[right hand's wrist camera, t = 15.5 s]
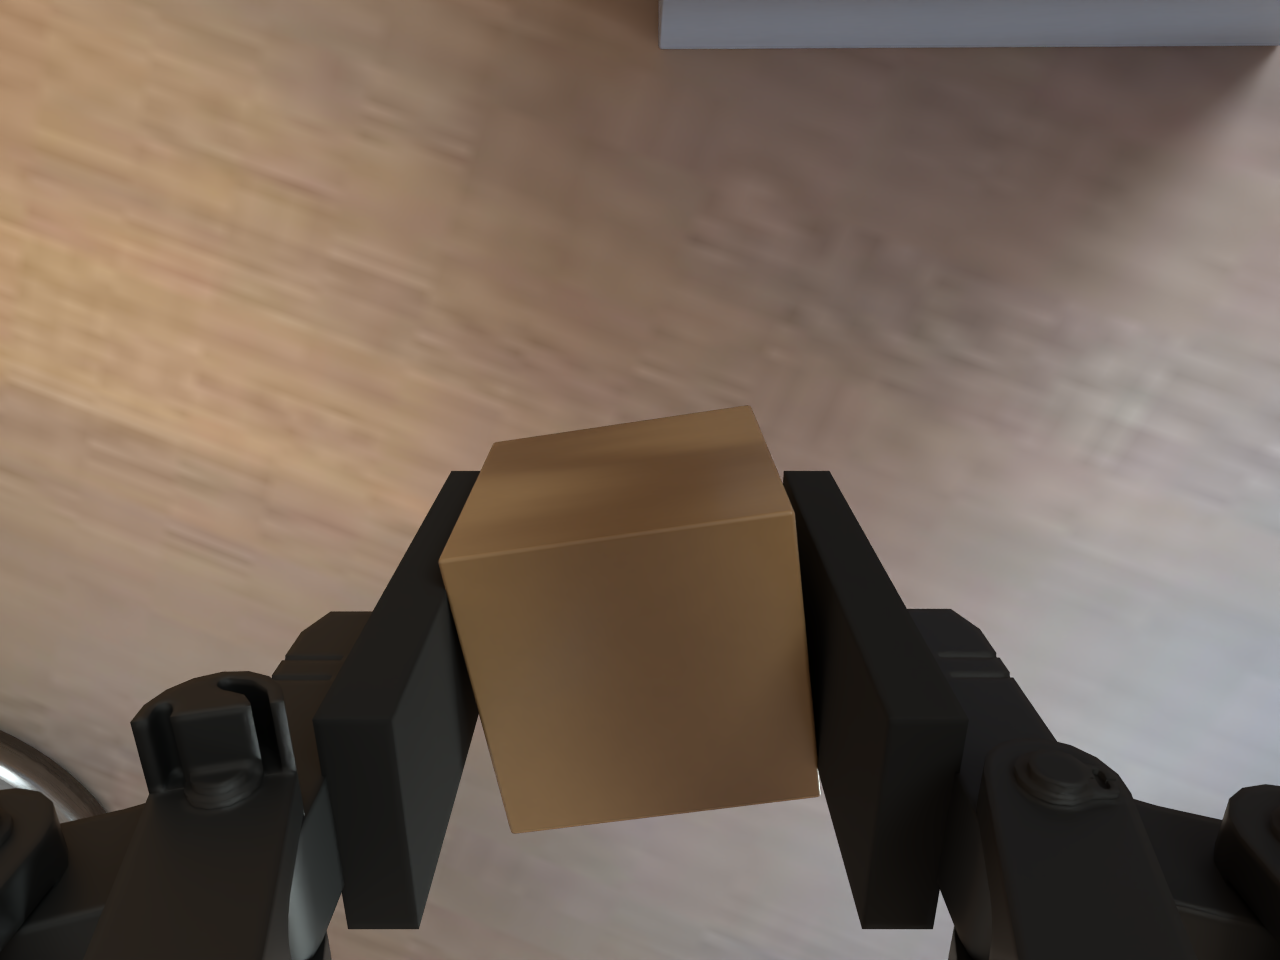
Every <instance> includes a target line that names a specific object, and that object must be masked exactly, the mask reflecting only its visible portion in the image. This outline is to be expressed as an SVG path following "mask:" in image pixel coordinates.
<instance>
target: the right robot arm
mask: <svg viewBox="0 0 1280 960" xmlns="http://www.w3.org/2000/svg"><path fill="white" fill-rule="evenodd" d="M479 473H480V471H451V473H450V475H449V477H448V478H447V480H446V482H445V484H444V486H443V487H442V489H441V491H440V493H439V494H438V496H437V498H436V500H435V502H434V503H433V505H432V507H431V509H430V510H429V512H428V514H427V516H426V518H425V519H424V521H423V523H422V525H421V526H420V528H419V530H418V532H417V534H416V535H415V537H414V539H413V541H412V543H411V544H410V546H409V548H408V550H407V551H406V553H405V555H404V557H403V559H402V560H401V562H400V564H399V566H398V567H397V569H396V571H395V573H394V575H393V576H392V578H391V580H390V582H389V583H388V585H387V587H386V589H385V591H384V592H383V594H382V596H381V598H380V599H379V601H378V603H377V605H376V607H375V608H374V610H373V612H329V613H328V614H327V615H325V616H324V617H322V618H321V619H319V620H318V621H317V622H315V623H314V624H312V625H311V626H309V627H308V628H307V629H305V630H304V631H302V632H301V634H300V635H299V636H298V638H297V639H296V641H295V642H294V644H293V645H292V647H291V648H290V650H289V651H288V653H287V654H286V656H285V660H282V661H281V663H280V664H279V666H278V667H277V669H276V670H275V672H274V673H273V675H272V678H271V677H269V676H266V675H262V674H258V673H254V672H250V671H238V672H220V673H215V674H211V675H206V676H202V677H197V678H193V679H191V680H189V681H186V682H184V683H181V684H179V685H177V686H174V687H172V688H170V689H167V690H165V691H164V692H163V693H161V694H160V695H158V696H157V697H155V698H154V699H152V700H151V701H149V702H148V703H146V704H145V705H144V706H143V707H142V708H141V710H140V711H139V712H138V713H137V715H136V716H135V717H134V718H133V720H132V721H131V722H130V723H131V727H132V731H133V735H134V738H135V742H136V746H137V749H138V753H139V757H140V761H141V764H142V768H143V772H144V776H145V779H146V783H147V787H148V791H149V796H148V799H147V801H146V803H144V804H141V805H137V806H134V807H130V808H127V809H123V810H119V811H114V812H110V813H106V812H105V811H104V809H103V808H102V807H101V806H100V805H99V803H98V802H97V801H96V800H95V798H94V797H93V796H92V795H91V794H90V793H89V792H88V791H87V790H86V789H85V788H84V787H83V786H82V785H81V784H80V783H79V782H78V781H77V780H76V779H75V778H73V777H72V776H71V775H70V774H69V773H68V772H67V771H65V770H64V769H63V768H62V767H60V766H59V765H58V764H56V763H55V762H54V761H52V760H51V759H50V758H48V757H47V756H45V755H44V754H42V753H40V752H39V751H37V750H36V749H34V748H33V747H31V746H29V745H27V744H26V743H24V742H22V741H20V740H19V739H17V738H15V737H13V736H11V735H9V734H7V733H4V732H2V731H0V960H331V953H330V947H329V941H328V936H327V928H328V925H329V923H330V920H331V918H332V915H333V913H334V910H335V907H336V905H337V902H338V900H339V897H340V895H341V892H342V896H343V902H344V908H345V914H346V920H347V925H348V929H419V926H420V923H421V919H422V915H423V912H424V908H425V905H426V901H427V897H428V894H429V890H430V887H431V883H432V880H433V876H434V872H435V869H436V865H437V862H438V858H439V854H440V851H441V847H442V844H443V840H444V836H445V833H446V829H447V826H448V822H449V819H450V815H451V811H452V808H453V804H454V801H455V797H456V793H457V790H458V786H459V783H460V779H461V775H462V772H463V768H464V765H465V761H466V757H467V754H468V750H469V747H470V743H471V740H472V736H473V732H474V729H475V725H476V722H477V718H478V714H479V712H478V708H477V704H476V701H475V697H474V693H473V690H472V686H471V682H470V678H469V675H468V671H467V667H466V664H465V660H464V656H463V653H462V649H461V645H460V641H459V638H458V634H457V630H456V627H455V623H454V619H453V616H452V612H451V608H450V604H449V601H448V597H447V592H446V589H445V586H444V582H443V579H442V575H441V571H440V568H439V564H438V562H439V558H440V556H441V554H442V552H443V550H444V548H445V546H446V543H447V541H448V539H449V537H450V535H451V533H452V531H453V529H454V527H455V524H456V522H457V520H458V518H459V516H460V514H461V512H462V510H463V507H464V505H465V503H466V501H467V499H468V497H469V495H470V493H471V490H472V488H473V486H474V484H475V482H476V480H477V478H478V476H479ZM783 486H784V488H785V491H786V493H787V495H788V498H789V500H790V503H791V505H792V508H793V510H794V512H795V520H796V531H797V541H798V552H799V562H800V573H801V583H802V594H803V605H804V615H805V626H806V636H807V647H808V657H809V668H810V678H811V689H812V700H813V710H814V721H815V731H816V742H817V752H818V772H819V776H820V779H821V783H822V786H823V790H824V794H825V797H826V801H827V804H828V808H829V812H830V815H831V819H832V822H833V826H834V829H835V833H836V837H837V840H838V844H839V847H840V851H841V855H842V858H843V862H844V865H845V869H846V873H847V876H848V880H849V883H850V887H851V890H852V894H853V898H854V901H855V905H856V908H857V912H858V916H859V919H860V923H861V926H862V929H933V925H934V920H935V914H936V908H937V902H938V896H939V890H940V891H941V893H942V896H943V898H944V901H945V903H946V906H947V908H948V911H949V913H950V916H951V918H952V921H953V923H954V930H953V936H952V941H951V946H950V952H949V957H948V960H1280V786H1275V785H1267V784H1264V785H1258V786H1252V787H1245V788H1242V789H1241V790H1239V791H1238V792H1237V793H1236V794H1234V795H1233V796H1232V797H1231V798H1230V799H1229V802H1228V805H1227V808H1226V811H1225V814H1224V817H1223V820H1219V819H1215V818H1210V817H1206V816H1201V815H1196V814H1192V813H1187V812H1183V811H1178V810H1174V809H1169V808H1165V807H1160V806H1156V805H1153V804H1149V803H1146V802H1142V801H1139V800H1135V799H1133V797H1132V794H1131V792H1130V791H1129V789H1128V788H1127V787H1126V785H1125V784H1124V782H1123V781H1122V779H1121V778H1120V776H1119V775H1118V774H1117V773H1116V772H1115V771H1113V770H1112V769H1111V768H1109V767H1108V766H1107V765H1106V764H1104V763H1103V762H1102V761H1100V760H1099V759H1098V758H1097V757H1094V756H1092V755H1090V754H1088V753H1086V752H1084V751H1082V750H1080V749H1078V748H1076V747H1073V746H1071V745H1068V744H1064V743H1060V742H1057V741H1056V739H1055V738H1054V736H1053V735H1052V733H1051V732H1050V730H1049V729H1048V728H1047V726H1046V725H1045V723H1044V722H1043V720H1042V719H1041V717H1040V716H1039V714H1038V713H1037V712H1036V710H1035V709H1034V707H1033V706H1032V704H1031V703H1030V701H1029V700H1028V698H1027V697H1026V696H1025V694H1024V693H1023V691H1022V690H1021V688H1020V687H1019V685H1018V684H1017V682H1016V681H1015V680H1014V678H1010V672H1009V671H1008V669H1007V668H1006V666H1005V665H1004V664H1003V662H1002V661H1001V659H1000V658H997V657H996V652H995V650H994V649H993V648H992V646H991V645H990V643H989V642H988V640H987V639H986V637H985V636H984V634H983V633H982V632H981V630H980V629H979V628H977V627H976V626H975V625H973V624H972V623H970V622H969V621H967V620H966V619H964V618H963V617H962V616H960V615H959V614H957V613H956V612H954V611H953V610H952V609H907V608H906V607H905V605H904V603H903V601H902V599H901V598H900V596H899V594H898V592H897V591H896V589H895V587H894V585H893V583H892V582H891V580H890V578H889V576H888V575H887V573H886V571H885V569H884V567H883V566H882V564H881V562H880V560H879V559H878V557H877V555H876V553H875V551H874V550H873V548H872V546H871V544H870V543H869V541H868V539H867V537H866V535H865V534H864V532H863V530H862V528H861V526H860V525H859V523H858V521H857V519H856V518H855V516H854V514H853V512H852V510H851V509H850V507H849V505H848V503H847V502H846V500H845V498H844V496H843V494H842V493H841V491H840V489H839V487H838V486H837V484H836V482H835V480H834V478H833V477H832V475H831V473H830V471H784V476H783Z"/></svg>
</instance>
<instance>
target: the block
mask: <svg viewBox="0 0 1280 960" xmlns="http://www.w3.org/2000/svg"><path fill="white" fill-rule="evenodd" d="M438 564H439V568H440V571H441V575H442V579H443V582H444V586H445V589H446V592H447V597H448V601H449V604H450V608H451V612H452V616H453V619H454V623H455V627H456V630H457V634H458V638H459V641H460V645H461V649H462V653H463V656H464V660H465V664H466V667H467V671H468V675H469V678H470V682H471V686H472V690H473V693H474V697H475V701H476V704H477V708H478V712H479V715H480V719H481V723H482V727H483V730H484V734H485V738H486V741H487V745H488V749H489V752H490V756H491V760H492V764H493V767H494V771H495V775H496V778H497V782H498V786H499V789H500V793H501V797H502V800H503V804H504V808H505V812H506V815H507V819H508V823H509V826H510V830H511V832H512V833H514V834H515V833H524V832H532V831H540V830H549V829H557V828H565V827H573V826H582V825H590V824H598V823H606V822H615V821H623V820H631V819H639V818H648V817H656V816H664V815H673V814H681V813H689V812H697V811H706V810H714V809H722V808H730V807H739V806H747V805H755V804H764V803H772V802H780V801H788V800H797V799H805V798H813V797H819V796H820V794H821V784H820V776H819V772H818V752H817V742H816V731H815V721H814V710H813V700H812V689H811V678H810V668H809V657H808V647H807V636H806V626H805V615H804V605H803V594H802V583H801V573H800V562H799V552H798V541H797V531H796V520H795V512H794V510H793V508H792V505H791V503H790V500H789V498H788V495H787V493H786V491H785V488H784V486H783V483H782V481H781V478H780V476H779V474H778V471H777V469H776V466H775V464H774V461H773V459H772V457H771V454H770V452H769V449H768V447H767V444H766V442H765V440H764V437H763V435H762V432H761V430H760V428H759V425H758V423H757V420H756V418H755V415H754V413H753V411H752V408H751V406H748V405H747V406H740V407H733V408H727V409H720V410H713V411H706V412H699V413H692V414H686V415H679V416H672V417H665V418H658V419H652V420H645V421H638V422H631V423H624V424H618V425H611V426H604V427H597V428H590V429H584V430H577V431H570V432H563V433H556V434H550V435H543V436H536V437H529V438H522V439H516V440H509V441H502V442H496V443H494V444H493V446H492V448H491V450H490V452H489V454H488V456H487V459H486V461H485V463H484V465H483V467H482V469H481V471H480V473H479V476H478V478H477V480H476V482H475V484H474V486H473V488H472V490H471V493H470V495H469V497H468V499H467V501H466V503H465V505H464V507H463V510H462V512H461V514H460V516H459V518H458V520H457V522H456V524H455V527H454V529H453V531H452V533H451V535H450V537H449V539H448V541H447V543H446V546H445V548H444V550H443V552H442V554H441V556H440V558H439V562H438Z"/></svg>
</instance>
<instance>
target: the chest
mask: <svg viewBox="0 0 1280 960" xmlns="http://www.w3.org/2000/svg"><path fill="white" fill-rule="evenodd" d="M658 46H659V48H660V49H767V48H939V47H1111V46H1280V0H659V35H658Z"/></svg>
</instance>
